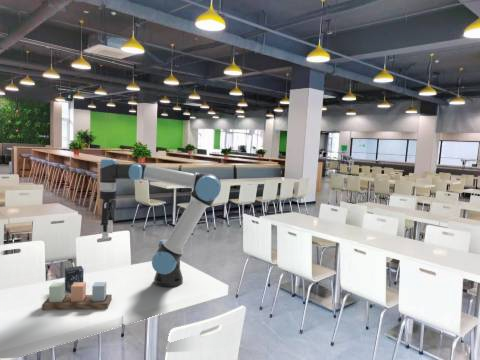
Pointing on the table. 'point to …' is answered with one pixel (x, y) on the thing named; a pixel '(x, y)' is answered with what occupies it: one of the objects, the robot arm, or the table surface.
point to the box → (73, 276)
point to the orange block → (78, 291)
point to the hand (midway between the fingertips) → (107, 235)
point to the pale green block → (57, 292)
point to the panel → (77, 304)
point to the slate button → (99, 291)
